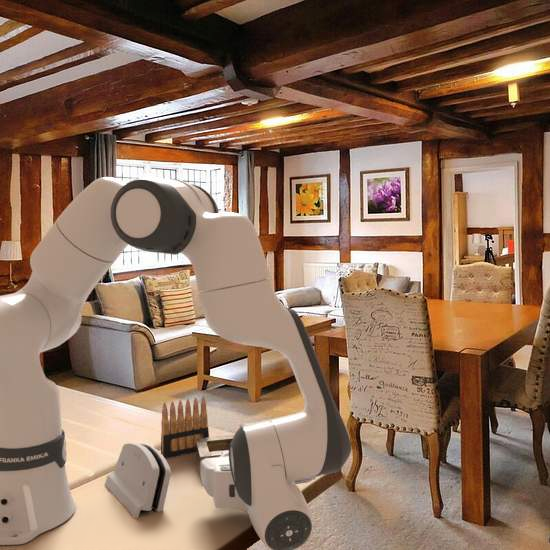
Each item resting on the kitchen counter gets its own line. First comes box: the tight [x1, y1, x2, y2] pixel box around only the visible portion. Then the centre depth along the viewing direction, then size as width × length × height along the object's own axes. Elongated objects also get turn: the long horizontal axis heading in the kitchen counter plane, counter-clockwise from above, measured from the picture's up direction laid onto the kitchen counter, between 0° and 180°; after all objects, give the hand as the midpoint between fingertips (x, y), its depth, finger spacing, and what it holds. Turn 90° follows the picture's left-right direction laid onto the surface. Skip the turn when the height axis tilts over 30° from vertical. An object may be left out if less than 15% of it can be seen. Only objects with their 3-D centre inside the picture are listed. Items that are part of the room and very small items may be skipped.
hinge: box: [104, 442, 172, 519], centre depth 106 cm, size 17×5×10 cm, turn 35°
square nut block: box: [195, 434, 235, 476], centre depth 120 cm, size 10×10×4 cm
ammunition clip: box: [160, 396, 210, 459], centre depth 125 cm, size 11×2×12 cm, turn 117°
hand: (250, 451), depth 109 cm, fingers open, 8 cm apart
